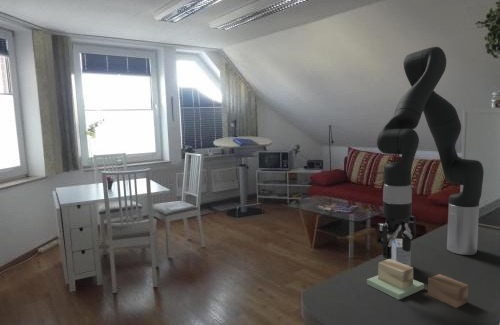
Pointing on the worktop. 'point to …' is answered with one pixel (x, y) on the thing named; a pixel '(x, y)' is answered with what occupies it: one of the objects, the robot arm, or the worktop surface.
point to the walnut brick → (448, 290)
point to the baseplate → (395, 288)
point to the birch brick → (395, 273)
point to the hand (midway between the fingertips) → (396, 254)
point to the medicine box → (400, 253)
